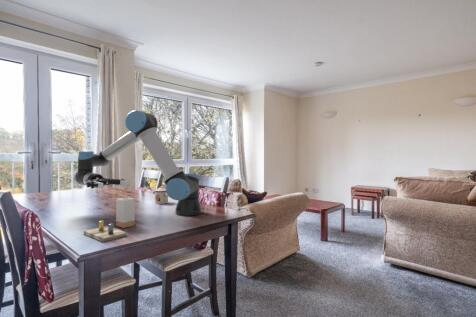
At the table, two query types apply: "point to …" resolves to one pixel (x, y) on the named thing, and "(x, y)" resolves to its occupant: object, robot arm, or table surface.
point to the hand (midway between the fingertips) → (115, 185)
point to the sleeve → (125, 212)
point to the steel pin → (110, 228)
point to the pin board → (104, 234)
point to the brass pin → (101, 225)
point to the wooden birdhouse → (161, 196)
